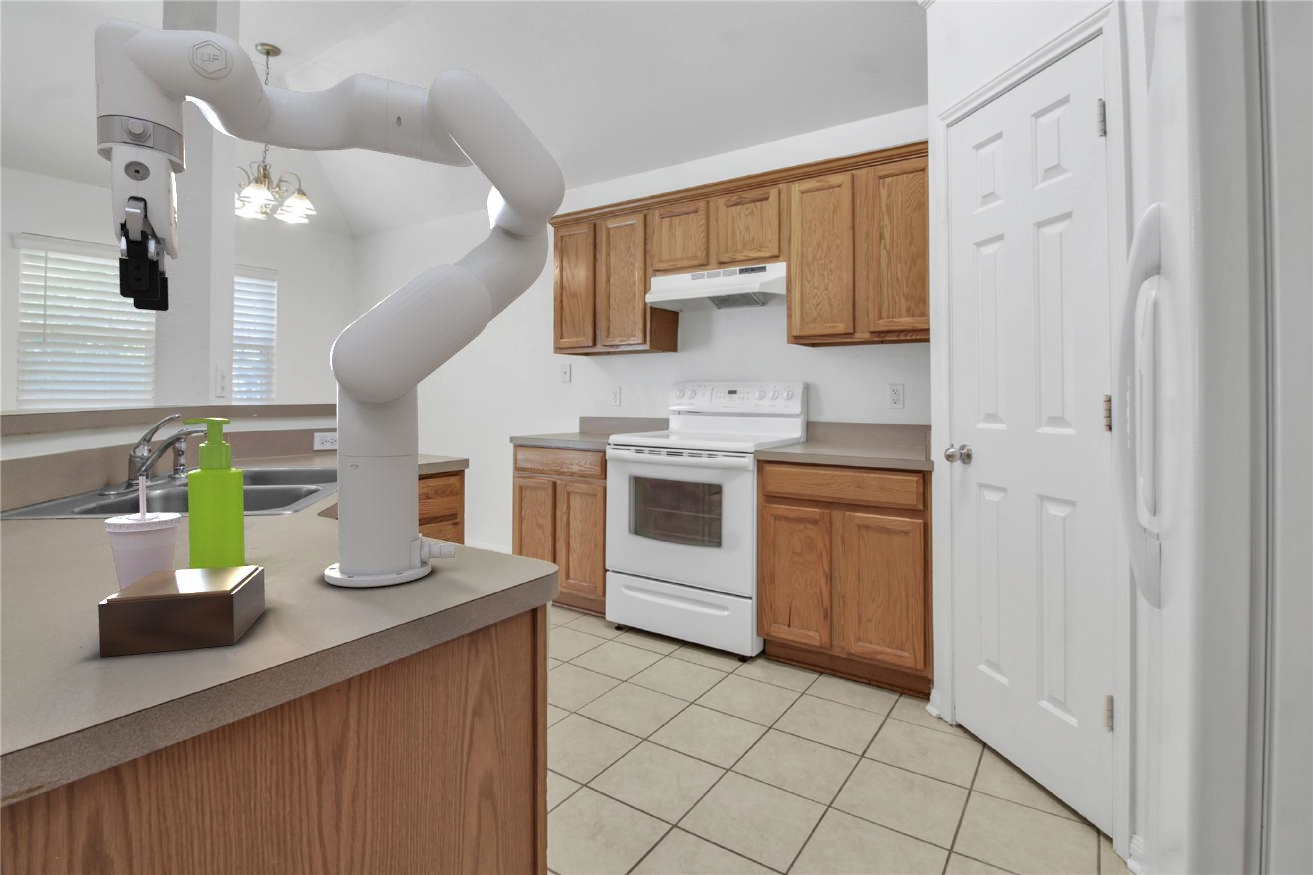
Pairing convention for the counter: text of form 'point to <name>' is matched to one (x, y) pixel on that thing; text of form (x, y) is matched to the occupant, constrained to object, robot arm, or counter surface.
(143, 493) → the smoothie
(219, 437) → the soap dispenser
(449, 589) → the counter surface
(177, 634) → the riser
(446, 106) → the robot arm
